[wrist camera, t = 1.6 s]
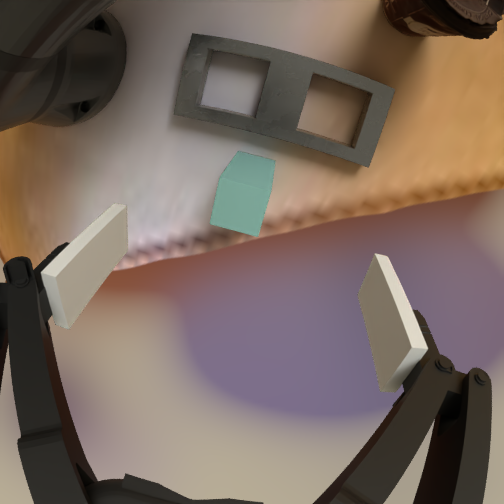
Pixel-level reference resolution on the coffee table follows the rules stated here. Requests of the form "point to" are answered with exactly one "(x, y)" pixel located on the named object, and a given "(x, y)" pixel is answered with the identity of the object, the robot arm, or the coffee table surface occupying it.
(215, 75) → the coffee table surface
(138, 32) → the coffee table surface
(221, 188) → the teal brick
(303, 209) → the coffee table surface
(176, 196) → the coffee table surface
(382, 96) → the grey flat frame
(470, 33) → the coffee cup
